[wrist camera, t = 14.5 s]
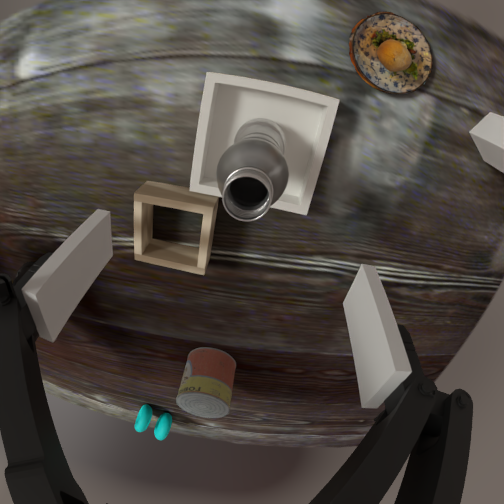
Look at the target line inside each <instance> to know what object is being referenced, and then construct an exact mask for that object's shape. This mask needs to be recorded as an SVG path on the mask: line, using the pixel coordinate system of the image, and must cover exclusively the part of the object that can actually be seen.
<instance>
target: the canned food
mask: <svg viewBox="0 0 504 504" xmlns="http://www.w3.org/2000/svg"><path fill="white" fill-rule="evenodd" d="M235 369H236V362H235V360H234V359H233V358H232V357H231V356H230V355H229V354H227V353H226V352H224V351H222V350H219V349H215V348H209V347H202V348H197V349H194V350H192V351H191V352H190V353H189V355H188V359H187V363H186V367H185V370H184V374H183V378H182V381H181V385H180V389H179V392H178V396H177V398H176V402H177V404H178V406H179V407H180V408H181V409H183V410H184V411H186V412H188V413H190V414H193V415H196V416H199V417H204V418H220V417H223V416H226V415H227V414H228V413H229V411H230V402H231V395H232V388H233V381H234V374H235Z"/></svg>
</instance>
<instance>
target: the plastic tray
mask: <svg viewBox="0 0 504 504" xmlns="http://www.w3.org/2000/svg"><path fill="white" fill-rule="evenodd" d="M339 101H340V100H339V99H336V98H334V97H330V96H327V95H323V94H319V93H316V92H312V91H308V90H304V89H300V88H296V87H292V86H288V85H283V84H279V83H274V82H269V81H264V80H259V79H254V78H248V77H242V76H236V75H230V74H223V73H215V72H207V74H206V80H205V85H204V91H203V97H202V103H201V109H200V115H199V122H198V128H197V135H196V142H195V150H194V157H193V165H192V173H191V181H190V190H189V191H192V192H198V193H203V194H208V195H213V196H218V197H222V195H221V193H220V190H219V188H218V184H217V180H216V170H217V165H218V162H219V160H220V158H221V156H222V155H223V153H224V152H225V151H226V150H227V149H228V148H229V147H230V146H231V145H233V144H234V139H235V135H236V133H237V131H238V130H239V128H240V127H241V126H242V125H243V124H244V123H246V122H247V121H250V120H252V119H256V118H264V119H269V120H271V121H273V122H275V123H276V124H278V125H279V127H280V128H281V129H282V130H283V132H284V134H285V137H286V150H285V153H284V155H283V156H284V157H285V160H286V163H287V166H288V171H289V178H288V183H287V187H286V189H285V191H284V193H283V194H282V196H281V197H280V198H279V199H278V200H277V201H276V202H275V203H274V204H273V205H271V206H270V207H272V208H276V209H281V210H285V211H290V212H294V213H298V214H303V215H307V212H308V209H309V206H310V202H311V199H312V196H313V192H314V189H315V186H316V182H317V179H318V176H319V172H320V169H321V165H322V162H323V159H324V155H325V152H326V148H327V145H328V141H329V137H330V134H331V130H332V127H333V123H334V119H335V116H336V112H337V108H338V104H339Z"/></svg>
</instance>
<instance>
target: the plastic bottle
mask: <svg viewBox="0 0 504 504" xmlns="http://www.w3.org/2000/svg"><path fill="white" fill-rule="evenodd" d="M285 150H286V137H285V134H284V132H283V130H282V129H281V128H280V127H279V125H278V124H276V123H275V122H273V121H271V120H269V119H264V118H256V119H252V120H250V121H247V122H246V123H244V124H243V125H242V126H241V127H240V128H239V130H238V131H237V133H236V135H235V139H234V144H233V145H231V146H230V147H229V148H228V149H227V150H226V151H225V152H224V153H223V155H222V156H221V158H220V160H219V162H218V165H217V170H216V180H217V184H218V188H219V190H220V193H221V195H222V202H223V206H224V208H225V210H226V211H227V213H228V214H229V215H230V216H232V217H233V218H235V219H237V220H239V221H245V222H249V221H254V220H257V219H259V218H261V217H262V216H264V215H265V214H266V212H267V211H268V210H269V208H270V206H271V205H273V204H274V203H275V202H276V201H277V200H278V199H279V198H280V197H281V196H282V194H283V193H284V191H285V189H286V187H287V183H288V178H289V171H288V166H287V163H286V160H285V157H284V156H283V155H284V153H285Z"/></svg>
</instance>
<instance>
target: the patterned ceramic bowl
mask: <svg viewBox="0 0 504 504" xmlns="http://www.w3.org/2000/svg"><path fill="white" fill-rule="evenodd" d="M349 46H350V52H349V54H350V58H351V61H352V63H353V65H354V66H355V69H356V71H357V72H358V74H359V75H360V76H361V77H362V78H363V79H364V81H365V82H367V83H368V84H369V85H371V86H372V87H374V88H376V89H378V90H380V91H382V92H386V93H390V94H406V93H411V92H413V91H415V90H417V89H419V88H420V87H421V86H422V85H424V84H425V83H426V81H427V80H428V78H429V76H430V74H431V71H432V66H433V60H432V52H431V48H430V46H429V43H428V41H427V40H426V38H425V36H424V35H423V33H422V32H421V31H420V29H419V28H418V27H417V26H415V25H414V24H412V23H411V22H409V21H407V20H406V19H404V18H403V17H401V16H398V15H396V14H393V13H391V12H377V13H375V14H373V15H370V16H367V18H365V19H361V21H360V22H358V23H357V25H356V26H355V27H354V28H353V30H352V32H351V35H350V42H349Z"/></svg>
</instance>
